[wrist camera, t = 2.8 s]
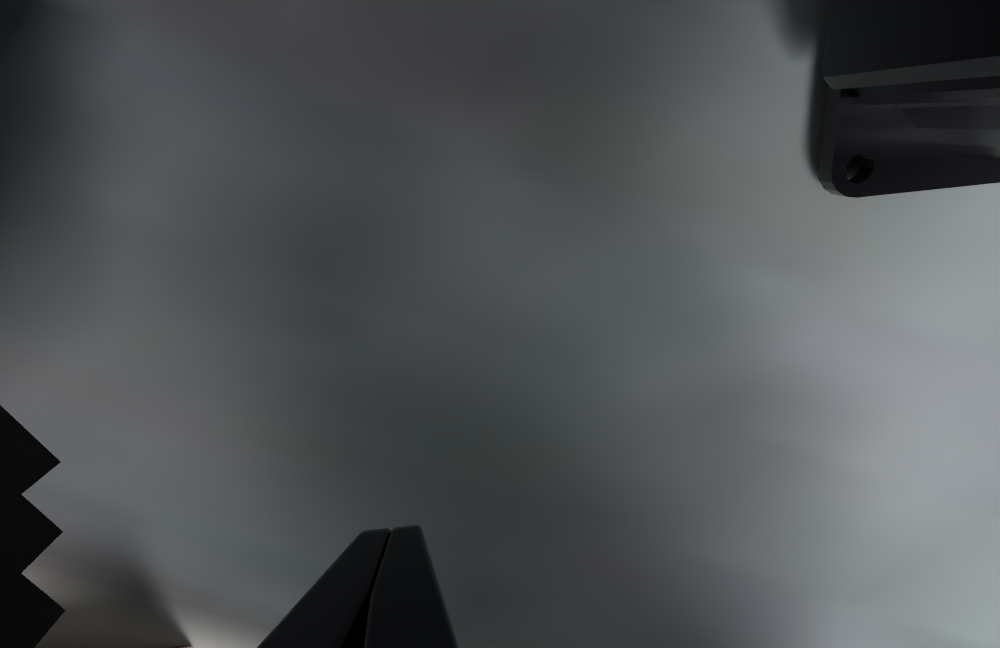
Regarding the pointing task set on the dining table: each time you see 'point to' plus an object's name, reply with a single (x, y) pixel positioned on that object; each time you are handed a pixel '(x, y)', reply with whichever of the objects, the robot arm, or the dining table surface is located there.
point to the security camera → (22, 537)
